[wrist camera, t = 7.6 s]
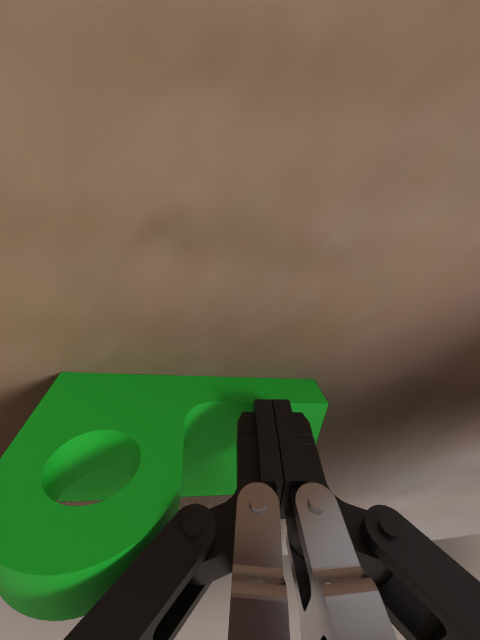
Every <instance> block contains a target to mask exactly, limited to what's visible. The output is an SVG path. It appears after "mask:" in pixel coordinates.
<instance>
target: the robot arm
mask: <svg viewBox="0 0 480 640" xmlns="http://www.w3.org/2000/svg"><path fill="white" fill-rule="evenodd" d="M236 457H237V489H236V491H235V493H234V495H233V496H232V497H231V498H230V499H229V500H228V501H226V502H225V503H223V504H221V505H218V506H215V507H213V508H210V509H208V508H207V507H205V506H203V505H200V504H191V505H187V506H185V507H183V508H182V509H181V510H179V511H178V512H177V513H176V515H175V516H174V517H173V518H172V519H171V520H170V521H169V522H168V523H167V525H166V526H165V527H164V528H163V529H162V530H161V531H160V532H159V533H158V535H157V536H156V537H155V538H154V539H153V540H152V541H151V542H150V544H149V545H148V546H147V547H146V548H145V549H144V550H143V551H142V552H141V554H140V555H139V556H138V557H137V558H136V559H135V560H134V561H133V563H132V564H131V565H130V566H129V567H128V568H127V569H126V570H125V571H124V573H123V574H122V575H121V576H120V577H119V578H118V579H117V580H116V582H115V583H114V584H113V585H112V586H111V587H110V588H109V589H108V590H107V592H106V593H105V594H104V595H103V596H102V597H101V598H100V599H99V601H98V602H97V603H96V604H95V605H94V606H93V607H92V608H91V609H90V611H89V612H88V613H87V614H86V615H85V616H84V617H83V618H82V620H81V621H80V622H79V623H78V624H77V625H76V626H75V627H74V628H73V630H72V631H71V632H70V633H69V634H68V635H67V636H66V637H65V638H64V640H174V638H175V637H176V635H177V634H178V632H179V631H180V629H181V628H182V626H183V625H184V623H185V622H186V620H187V619H188V617H189V616H190V614H191V613H192V611H193V610H194V608H195V607H196V605H197V603H198V602H199V601H200V599H201V598H202V596H203V595H204V593H205V592H206V590H207V589H208V587H209V585H210V584H211V583H212V581H214V580H216V579H218V578H221V577H223V576H225V575H227V574H229V573H231V572H232V586H231V600H230V616H229V631H228V640H290V631H289V615H288V599H287V588H286V583H285V580H284V576H283V562H282V544H281V525H280V519H286V525H287V537H286V545H287V550H288V555H289V560H290V565H291V570H292V575H293V580H294V585H295V590H296V596H297V600H298V606H299V611H300V626H301V627H300V628H301V638H302V640H397V638H396V635H395V633H394V630H393V628H392V625H391V623H392V624H393V625H394V626H395V628H396V629H397V630H398V631H399V632H400V633H401V634H402V635H403V637H405V639H406V640H480V582H479V581H478V580H477V579H476V578H474V577H473V576H472V575H471V574H470V573H469V572H467V571H466V570H465V569H464V568H463V567H461V566H460V565H459V564H458V563H457V562H456V561H455V560H453V559H452V558H451V557H450V556H449V555H448V554H446V553H445V552H444V551H443V550H442V549H440V548H439V547H438V546H437V545H436V544H435V543H433V542H432V541H431V540H430V539H429V538H428V537H426V536H425V535H424V534H423V533H422V532H421V531H419V530H418V529H417V528H416V527H415V526H414V525H412V524H411V523H410V522H409V521H408V520H407V519H405V518H404V517H403V516H402V515H401V514H399V513H398V512H397V511H396V510H394V509H392V508H390V507H388V506H384V505H375V506H372V507H370V508H369V509H368V510H365V509H362V508H359V507H356V506H353V505H350V504H347V503H345V502H343V501H341V500H340V499H339V498H337V497H336V496H335V495H334V494H333V493H332V492H331V490H330V489H329V487H328V485H327V483H326V481H325V477H324V473H323V470H322V466H321V462H320V459H319V455H318V451H317V448H316V445H315V440H314V437H313V433H312V429H311V426H310V422H309V421H308V420H307V418H306V417H305V416H304V414H303V413H302V412H292V408H291V403H290V400H289V399H272V400H271V399H254V405H253V412H242V413H241V415H240V417H239V419H238V421H237V442H236Z"/></svg>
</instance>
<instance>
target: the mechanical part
mask: <svg viewBox="0 0 480 640" xmlns="http://www.w3.org/2000/svg"><path fill="white" fill-rule="evenodd" d="M254 399H271V400H272V399H289V400H290V403H291V408H292V412H302V413H303V414H304V416H305V417H306V418H307V420H308V421H309V422H310V426H311V429H312V433H313V437H314V440H315V445H316V442H317V439H318V436H319V433H320V430H321V426H322V423H323V420H324V417H325V414H326V410H327V407H328V404H329V403H328V402H327V400H326V398H325V397H324V395H323V393H322V392H321V390H320V388H319V387H318V385H317V383H316V382H315V380H314V379H281V378H246V377H211V376H176V375H142V374H107V373H72V372H61V373H60V374H59V376H58V377H57V379H56V380H55V382H54V383H53V384H52V386H51V387H50V389H49V390H48V392H47V393H46V394H45V396H44V397H43V399H42V400H41V401H40V403H39V404H38V406H37V407H36V409H35V410H34V411H33V413H32V414H31V416H30V417H29V419H28V420H27V421H26V423H25V424H24V426H23V427H22V428H21V430H20V431H19V433H18V434H17V436H16V437H15V438H14V440H13V441H12V443H11V444H10V446H9V447H8V448H7V450H6V451H5V453H4V454H3V455H2V457H1V458H0V595H1V597H2V598H3V599H4V601H5V602H6V603H8V604H9V605H10V606H11V607H12V608H13V609H15V610H16V611H18V612H19V613H22V614H24V615H26V616H29V617H32V618H36V619H40V620H48V621H63V620H68V619H74V618H78V617H82V616H85V615H86V614H87V613H88V612H89V611H90V609H91V608H92V607H93V606H94V605H95V604H96V603H97V602H98V601H99V599H100V598H101V597H102V596H103V595H104V594H105V593H106V592H107V590H108V589H109V588H110V587H111V586H112V585H113V584H114V583H115V582H116V580H117V579H118V578H119V577H120V576H121V575H122V574H123V573H124V571H125V570H126V569H127V568H128V567H129V566H130V565H131V564H132V563H133V561H134V560H135V559H136V558H137V557H138V556H139V555H140V554H141V552H142V551H143V550H144V549H145V548H146V547H147V546H148V545H149V544H150V542H151V541H152V540H153V539H154V538H155V537H156V536H157V535H158V533H159V532H160V531H161V530H162V529H163V528H164V527H165V526H166V525H167V523H168V522H169V521H170V520H171V519H172V518H173V517H174V516H175V515H176V513H177V512H178V511H179V507H180V497H188V496H213V495H234V493H235V491H236V489H237V457H236V442H237V421H238V419H239V417H240V415H241V413H242V412H253V405H254ZM58 498H59V502H66V501H90V500H103V501H101V502H98V503H95V504H91V505H86V506H67V505H62V504H60V503H57V502H56V500H57V499H58Z"/></svg>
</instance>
